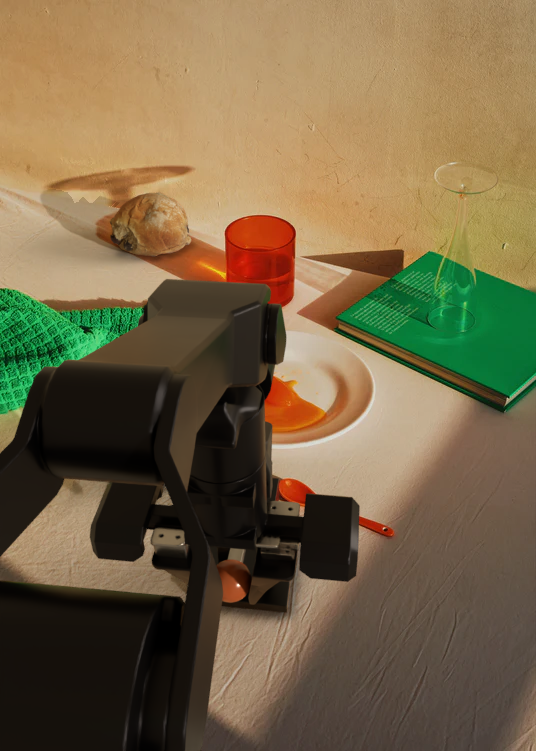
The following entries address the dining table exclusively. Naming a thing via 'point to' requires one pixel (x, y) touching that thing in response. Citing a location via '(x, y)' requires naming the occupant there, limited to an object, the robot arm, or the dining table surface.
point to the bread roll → (150, 225)
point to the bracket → (273, 596)
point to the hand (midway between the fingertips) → (232, 597)
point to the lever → (234, 576)
